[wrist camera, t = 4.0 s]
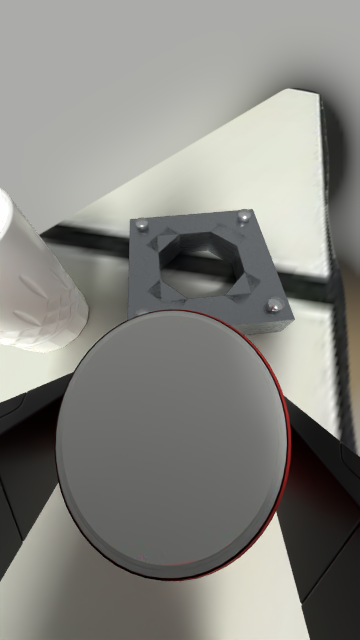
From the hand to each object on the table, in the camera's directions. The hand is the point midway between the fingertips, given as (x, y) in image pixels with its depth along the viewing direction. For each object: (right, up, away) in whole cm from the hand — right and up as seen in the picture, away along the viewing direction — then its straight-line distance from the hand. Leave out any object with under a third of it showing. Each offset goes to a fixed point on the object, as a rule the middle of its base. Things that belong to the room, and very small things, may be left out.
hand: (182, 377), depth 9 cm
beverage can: (0, -4, +6) cm, 7 cm away
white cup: (-12, +3, +10) cm, 16 cm away
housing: (+2, +7, +11) cm, 13 cm away
